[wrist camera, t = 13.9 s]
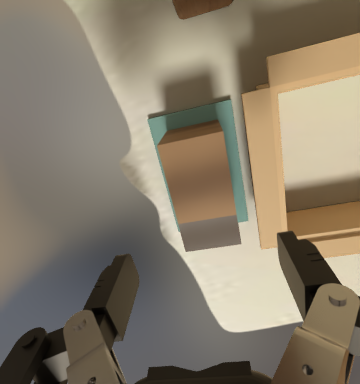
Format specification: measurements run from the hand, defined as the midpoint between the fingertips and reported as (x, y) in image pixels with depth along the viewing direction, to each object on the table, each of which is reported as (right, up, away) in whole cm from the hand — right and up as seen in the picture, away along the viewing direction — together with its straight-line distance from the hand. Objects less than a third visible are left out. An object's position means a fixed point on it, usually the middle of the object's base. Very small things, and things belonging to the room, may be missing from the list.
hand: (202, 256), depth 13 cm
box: (+1, +5, +12) cm, 13 cm away
